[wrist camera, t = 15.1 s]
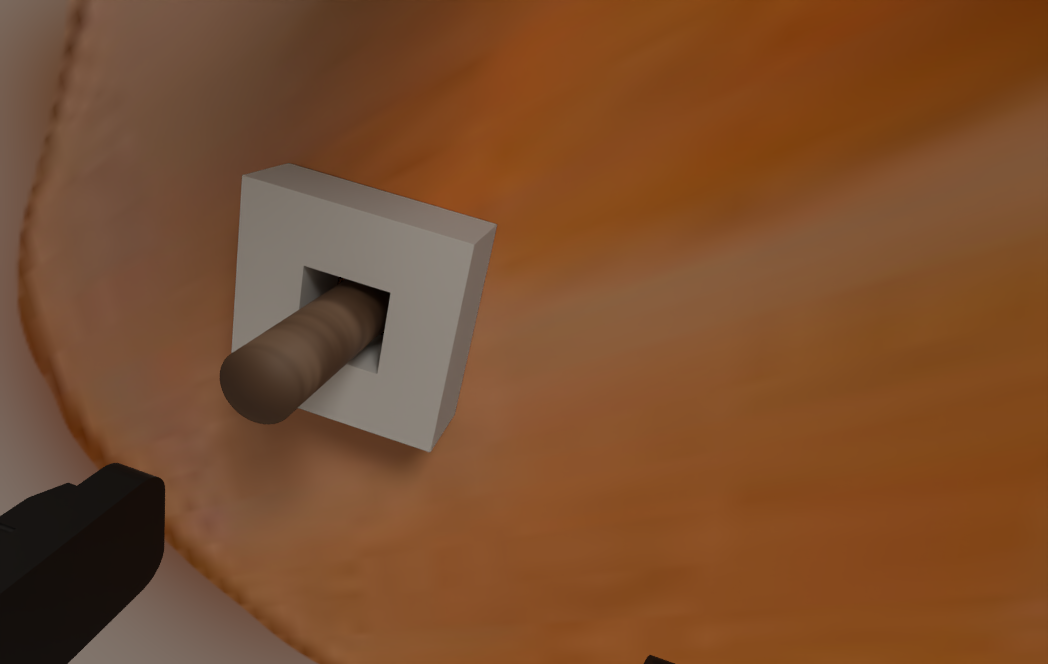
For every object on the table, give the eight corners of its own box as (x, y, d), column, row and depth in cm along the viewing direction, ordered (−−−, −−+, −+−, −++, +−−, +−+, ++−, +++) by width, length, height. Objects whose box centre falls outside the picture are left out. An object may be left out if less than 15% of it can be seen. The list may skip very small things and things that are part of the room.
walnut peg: (353, 258, 44) (221, 338, 32) (410, 276, 44) (299, 363, 31) (346, 313, 46) (218, 409, 33) (400, 330, 46) (292, 434, 33)
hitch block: (288, 163, 43) (242, 175, 38) (497, 224, 41) (474, 244, 37) (271, 354, 49) (229, 385, 44) (454, 414, 47) (430, 452, 43)
